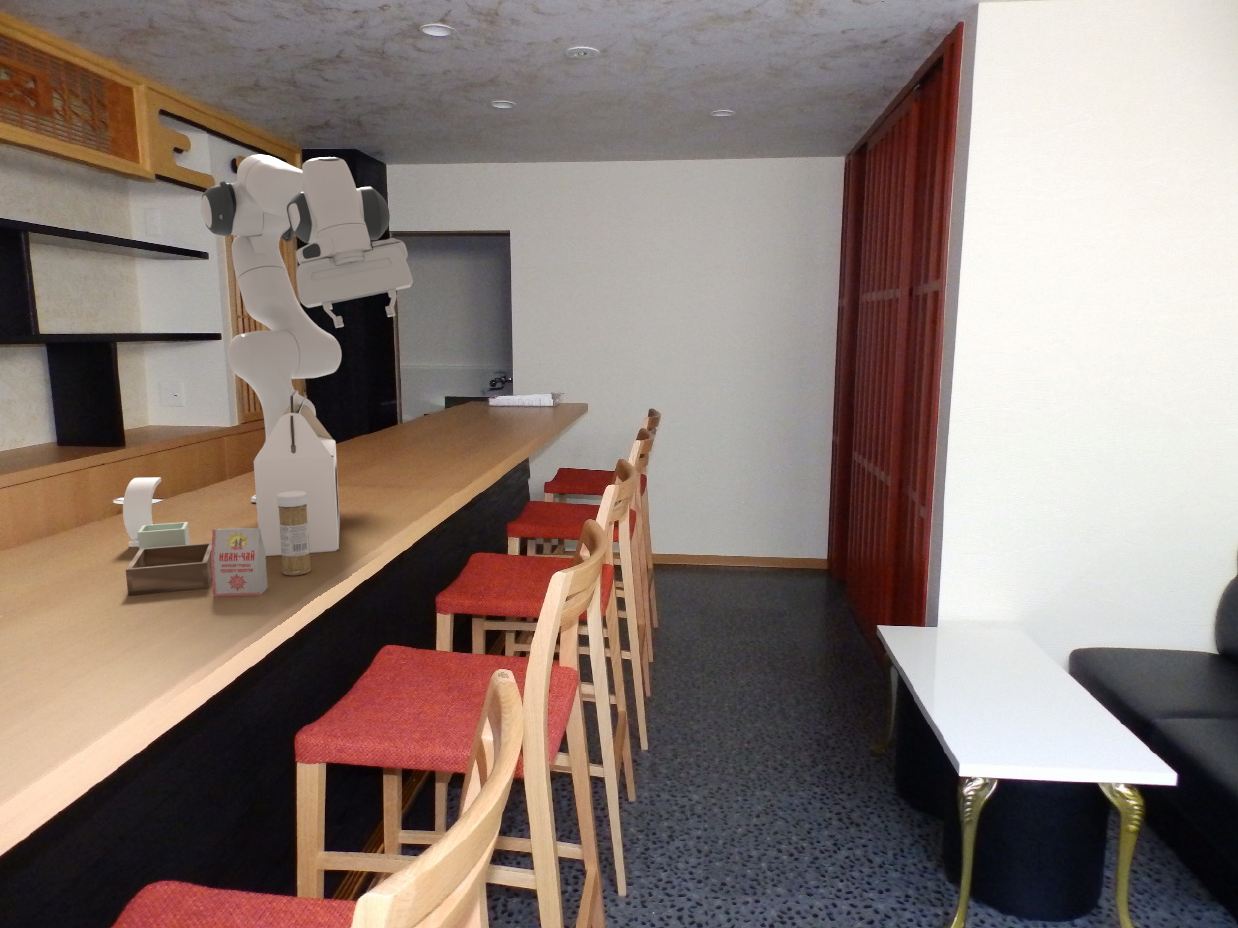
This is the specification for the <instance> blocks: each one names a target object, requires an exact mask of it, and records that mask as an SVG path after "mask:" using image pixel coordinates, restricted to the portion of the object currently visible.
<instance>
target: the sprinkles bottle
mask: <svg viewBox="0 0 1238 928" xmlns="http://www.w3.org/2000/svg"><path fill="white" fill-rule="evenodd" d="M277 505H278V508H279V518H280V539H281V554H282V555H281V561H282V563H281V564H282V570H281V572H282V574H283V575H286V576H302V575H305V574H308V573H310V572H311V571H312V567H311V557H310V554H311V553H309V550H310V548H309V533H308V521H307V510H306V509H307V508H306V507H307V494H306V492H303V491H288V492H282V493H279V494H278V495H277Z"/></svg>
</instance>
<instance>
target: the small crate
mask: <svg viewBox="0 0 1238 928" xmlns="http://www.w3.org/2000/svg"><path fill="white" fill-rule="evenodd" d="M190 541H191V539H190V529H189V522H188V521H183V522H169V523H155V524H154V523H153V524H152V525H143V526H142V527H141V529H140V530H139V531H138V542H139V547H138V550H139V549H140V548H152V547H165V546H177V545H190V544H191V542H190Z"/></svg>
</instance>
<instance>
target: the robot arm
mask: <svg viewBox="0 0 1238 928" xmlns="http://www.w3.org/2000/svg"><path fill="white" fill-rule="evenodd" d="M200 213H201V217H202V219H203V222H204V223H205V226H206V228H207V229H208V230H209V231H210V232H211V233H212V234H214V235H217V236H223V237H230V236H235V237H234V239H233V241H232V243H231V256H232V262H233V263H232V264H233V269H234V274H235V277H236V281H237V284H238V285H237V286H238V288H239V291H240V294H241V297H242V301H243V305H244V307H245V311H246V312H247V314H248V315H249V316H250V317H251V318H252V319H253V320H255V321H256V322H258V323H260V324H262V325H264V326H265V327H267V328H268V329H270V330H254V331H249V332H244V333H240V334H237V335H235V336H234V337H233V338H232V339H231V341H230V342H229V345H228V347H227V354H226V355H227V361H228V364H229V367H230V368H231V370H232V372H233V373H234V374H235V375H236V376H237V377H238V378H241V379H242V380H243V381H244V382H246V383H247V384H248V385H249V386H250V387H251V388H252V390H253V391H254V392H255V394H256V396H257V398H258V400H259V402H260V405H261V409H262V413H263V420H264V421H263V422H264V431H265V440H264V442H263V445H264V444H265V442H266V441H267V439H268V437H269V436H270V434H271V432H272V431H273V429H274V427H275V425H276V424H277V422H278V420H279V419H280V418H281V417H282V416H283V414H284V413H285V411H286V409H287V408H288V407H289V406H291V404H290V396H291V395H292V394H293V392H294V391H295V390H296V389H294V386H293V382H292V380H297V379H315V378H319V377H323V376H324V377H325V376H327V375H331V374H334V373H335V372H337V370H338V369H339V367H340V365H341V362H342V355H343V354H342V349H341V345H340V343H339V341H338V340H337V338H335V336H333V335H332V334H331V333H329V332H327V331H326V330H325V329H322V328H321V327H319V326H318V324H317V323H315V322H314V321H313V320H312V319H311V318H310V317H309V315H308V314H307V313H306V311H305V310H304V309H303V307H302V306H301V305H300V303H301V304H302V305H303V306H304V307H306V308H307V309H310V308H311V309H312V308H314V307H319V306H322V307H323V310H324V312H326V313H327V315H329V316H330V318H332V319H333V324H334V327H335V329H337V328H343V327H344V326H345V325H344V322H343V317H342V316H341V315H338V316H336V314H334V313H333V311H331V310H333V305H332V304H335V303H339V302H340V303H341V302H345V301H350V300H354V299H359V298H364V297H369V296H376V295H379V294H385V293H387V294H388V298H390V302H389V305H387V306H385V311H386V316H387V317H388V318H390V317H395V316H396V312H395V308H394V307H395V304H396V301H397V297H398V296H397V292H396V291H399V290H404V289H409V288H411V286H412V285H413V282H414V280H413V275H412V273H411V269H410V266H409V264H408V262H407V259H408V258H409V257H408V256H409V252H408V249H407V246H406V244H405V243H404V241H403V240H400V239H396V238H395V237H391V238H386V239H381V240H380V238H381V237H382V236H383V235H384V233H385V231H386V230H387V229H388V227H389V224H390V222H391V221H390V220H391V219H390V218H391V217H390V216H391V215H390V214H391V213H390V209H389V206H388V203H387V201H386V199H385V198H384V197H383V195H381V193H379V192H378V191H377V190H376V189H375V188H373V187H372V186H363V187H359V188H357V187H356V183H355V181H354V178H353V175H352V172H351V170H350V167H349V166H348V164H347V162H346V161H345V159H343V158H340V157H335V156H333V157H331V156H328V157H327V156H326V157H315V158H311V159H310V158H309V159H308V160H306V161H305V162H303V163H302V167H301V169H300V168H298V167H295V166H294V165H291V164H289V163H287V162H285V161H283V160H281V159H279V158H276V157H274V156H271V155H266V154H252V155H249V156H247V157H246V158H243V160H242V161H241V162H240V163H239V165H238V167H237V172H236V181H234V182H232V183H230V182H226V180H222V181H220V182H219V184H216V185H213V186H211V187H208V189H206V190H205V192H203V194H202V196H201V202H200ZM294 236H296V237H297V238H298V239H299V240H300V241H302V242H304V243H305V244H306V245H304V246H302V247H300V248H298V249H297V250H296V252H295V256H296V260H297V263H298V264H299V265H298V267H297V268H296V273H295V275H296V276H295V277H296V279H295V280H296V286H297V293H298V297H299V300H298V298H297V296H296V293H295V291H294V288H293V285H292V282H291V280H290V276H289V273H288V270H287V267H286V264H285V262H284V259H283V257H282V255H281V254H282V253H281V251H280V241H281V239H283V240H284V242H286V243H290V242H291V241H293V237H294ZM299 301H300V303H299ZM298 396H299V404H301V403H302V401H303V400H304V398H305V396H302V395H301V394H298ZM303 405H306V406H307V407H309V408H310V410H311V411H312V412H313V414H314V415H315V416H316V417H317V413H316V408H315V405H314V404H313V403H312V401H311V400H310V399H308V398H307V397H306V399H305V402H304V404H303ZM300 415H301V412H300ZM250 500H251V501H250V502H251V503H256V494H254V495H253V496H251V499H250Z"/></svg>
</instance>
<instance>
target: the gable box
mask: <svg viewBox="0 0 1238 928" xmlns="http://www.w3.org/2000/svg"><path fill="white" fill-rule="evenodd" d="M294 390H295V391H294V392H293V394H292V395H291V396H290V404H291V406H289V407H288V408H287V409H286V411H285V413H284V414H283V416H282V417H281V418H280V419H279V420H278V422H277V424H276V425H275V427H274V429H273V431H272V432H271V434H270V436H269V437H268V439H267V441H266V442H265V444H264V443H263V446H262V447H261V449H260V450H259V451H258V453H257V455H256V456H255V457H254V459H253V472H254V473H253V475H254V486H255V488H254V489H255V490H254V491H255V495H256V502H255V504H256V516H257V528H260V533H261V537H262V541H263V545H264V549H265V556H266V557H272V556H282V554H281V539H280V518H279V508H278V505H277V495H278V494H279V493H282V492H288V491H303V492H306V494H307V507H306V508H307V509H306V510H307V521H308V533H309V548H310V550H309V554H315V553H329V552H330V553H331V552H338V551H339V550H340V549H339V548H340V547H339V546H340V526H341V525H340V523H341V522H340V505H339V500H340V499H339V486H338V483H339V482H338V466H337V465H338V463H337V462H338V461H337V446H336V445H337V443H336V440H335V439H333V437H332V436H331V434H330V433H329V431H327V430H326V428H325V427H324V425H323V424H322V422H321V421H320V420H319V419H318V418H317V415H316V416H315V415H314V414H313V412H312V411H311V410H310V408H309V407H307V406H306V405H303V404H304V402H305V399H306V398H307V397H308V396H307V395H305V396H304V397H305V398H304V400H303V401H302V403H301V404H299V396H298V395H299V390H298V389H294ZM300 412H301V415H300Z"/></svg>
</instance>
